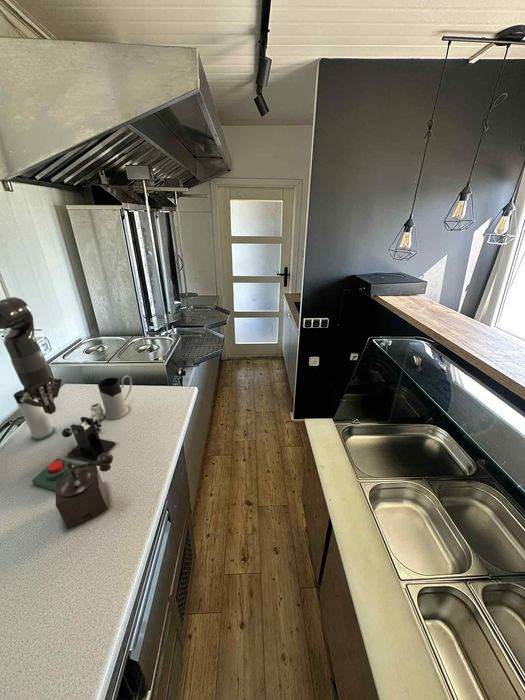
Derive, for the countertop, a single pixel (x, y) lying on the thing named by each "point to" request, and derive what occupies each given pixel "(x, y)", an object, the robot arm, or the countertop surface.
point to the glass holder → (113, 397)
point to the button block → (52, 476)
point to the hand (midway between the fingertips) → (51, 412)
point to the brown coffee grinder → (82, 491)
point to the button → (55, 467)
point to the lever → (68, 432)
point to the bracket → (88, 442)
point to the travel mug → (34, 417)
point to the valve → (97, 414)
